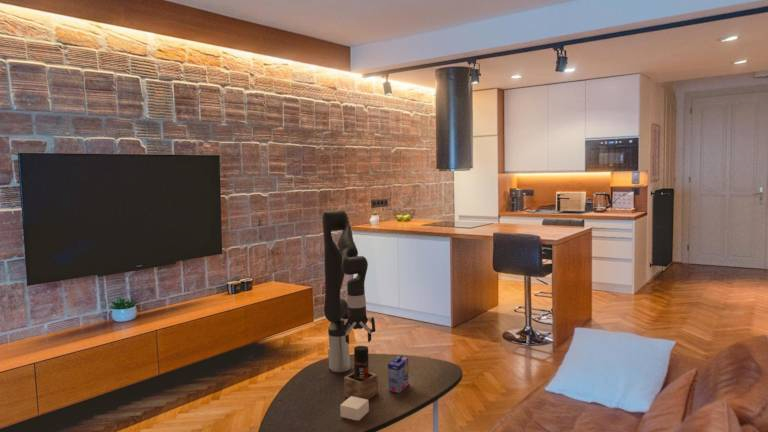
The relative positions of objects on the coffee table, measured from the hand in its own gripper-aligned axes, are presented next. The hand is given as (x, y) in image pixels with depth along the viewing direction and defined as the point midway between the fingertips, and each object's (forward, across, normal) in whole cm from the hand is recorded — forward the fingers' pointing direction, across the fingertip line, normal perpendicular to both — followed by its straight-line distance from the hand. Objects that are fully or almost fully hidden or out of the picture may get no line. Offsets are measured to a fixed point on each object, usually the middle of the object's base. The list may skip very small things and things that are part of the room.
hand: (358, 342), depth 220 cm
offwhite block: (+23, -3, -15) cm, 28 cm away
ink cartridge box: (+23, +16, +4) cm, 29 cm away
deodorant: (+18, 0, 0) cm, 18 cm away
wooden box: (+23, 0, 0) cm, 23 cm away
